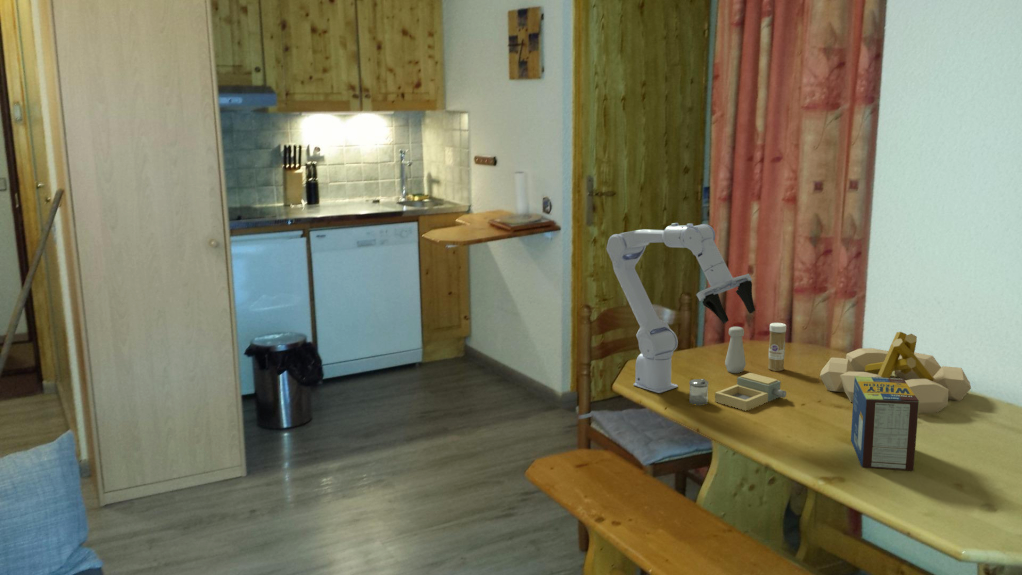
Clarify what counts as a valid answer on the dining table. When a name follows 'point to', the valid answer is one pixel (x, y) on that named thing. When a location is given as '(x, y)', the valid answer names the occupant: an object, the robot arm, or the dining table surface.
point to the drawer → (750, 392)
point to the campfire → (899, 373)
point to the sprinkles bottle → (777, 346)
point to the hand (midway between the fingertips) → (739, 317)
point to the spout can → (698, 391)
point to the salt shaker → (735, 351)
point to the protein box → (884, 423)
